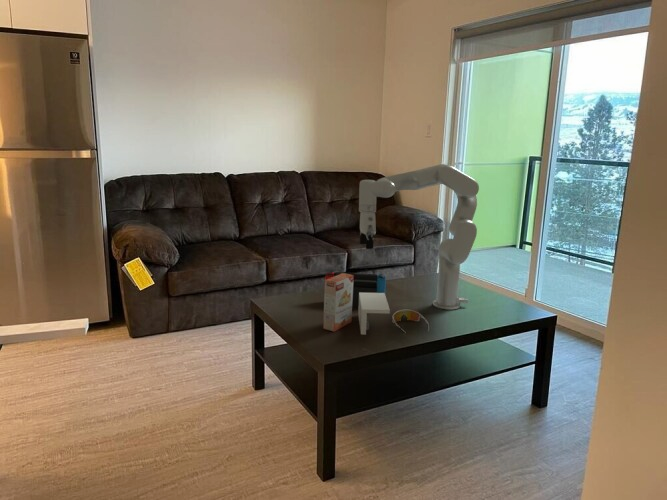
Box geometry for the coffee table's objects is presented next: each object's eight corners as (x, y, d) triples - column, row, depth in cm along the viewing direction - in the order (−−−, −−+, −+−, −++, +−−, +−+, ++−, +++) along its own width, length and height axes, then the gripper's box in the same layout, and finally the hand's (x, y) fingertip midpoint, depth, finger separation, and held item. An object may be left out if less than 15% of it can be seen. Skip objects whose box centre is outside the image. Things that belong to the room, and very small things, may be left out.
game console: (384, 303, 248) (386, 273, 245) (384, 307, 242) (385, 277, 238) (325, 300, 250) (326, 270, 247) (323, 304, 244) (324, 274, 241)
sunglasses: (417, 318, 229) (419, 308, 227) (432, 335, 215) (434, 325, 214) (387, 320, 225) (388, 310, 223) (400, 338, 212) (401, 327, 210)
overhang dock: (383, 315, 230) (384, 293, 228) (388, 335, 209) (389, 309, 207) (358, 315, 230) (359, 292, 228) (360, 334, 209) (361, 309, 207)
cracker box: (335, 332, 210) (336, 282, 206) (322, 329, 213) (323, 279, 209) (352, 322, 222) (354, 274, 217) (340, 319, 225) (341, 272, 220)
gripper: (381, 211, 224) (380, 250, 228) (370, 205, 240) (369, 242, 244) (364, 211, 222) (363, 250, 226) (354, 205, 239) (353, 242, 243)
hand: (366, 246), depth 235 cm, fingers open, 9 cm apart
